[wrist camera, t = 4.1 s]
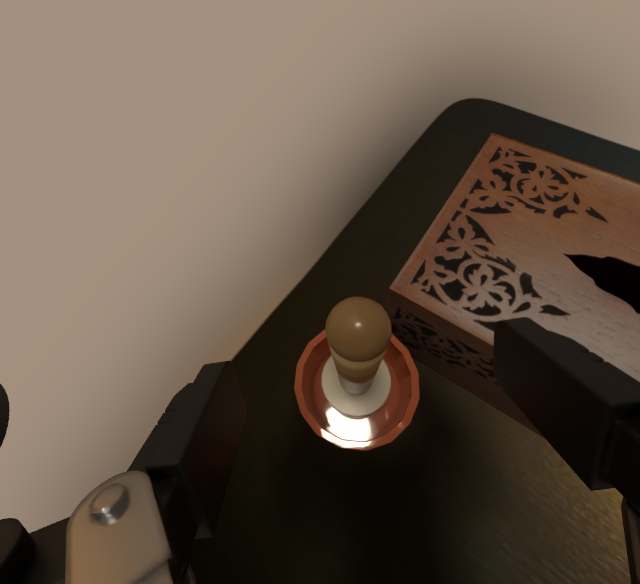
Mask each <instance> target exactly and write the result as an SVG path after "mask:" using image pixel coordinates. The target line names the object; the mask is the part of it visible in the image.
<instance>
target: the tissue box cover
mask: <svg viewBox="0 0 640 584" xmlns="http://www.w3.org/2000/svg"><path fill="white" fill-rule="evenodd" d="M384 310H385V311H386V312H387V314H388V316H389V318H390V321H391V327H392V334H393V335H394V336H395V337H396V338H397V339H398V340H399V341H400V342H401V343H402V344H403V345H404V346H405V347H406V348H407V349H408V350H409V352H410V354H411V356H413V357H414V358H416V359H418V360H419V361H421V362H422V363H424V364H426V365H427V366H429V367H431V368H432V369H434V370H435V371H437V372H439V373H440V374H442V375H443V376H445V377H447V378H448V379H450V380H452V381H453V382H455V383H456V384H458V385H460V386H461V387H463V388H465V389H466V390H468V391H469V392H471V393H473V394H474V395H476V396H478V397H479V398H481V399H482V400H484V401H486V402H487V403H489V404H491V405H492V406H494V407H495V408H497V409H499V410H500V411H502V412H504V413H505V414H507V415H508V416H510V417H512V418H513V419H515V420H516V421H518V422H520V423H521V424H523V425H525V426H526V427H528V428H529V429H531V430H533V431H534V432H536V433H538V434H539V435H541V436H542V437H544V436H543V435H542V434H541V433H540V432H539V431H538V429H537V428H536V427H535V426H534V425H533V424H532V423H531V421H530V420H529V419H528V418H527V417H526V416H525V415H524V413H523V412H522V411H521V410H520V409H519V408H518V407H517V405H516V404H515V403H514V402H513V401H512V400H511V399H510V397H509V396H508V395H507V394H506V393H505V392H504V391H503V389H502V388H501V387H500V386H499V384H498V383H497V381H496V378H495V376H494V372H493V346H494V328H495V324H496V323H497V322H498V321H501V320H507V319H514V318H521V317H528V318H530V319H531V320H533V321H534V322H536V323H537V324H539V325H540V326H542V327H543V328H545V329H546V330H548V331H553V332H555V333H558V334H561V335H563V336H566V337H569V338H572V339H573V340H575V341H576V342H578V343H579V344H581V345H583V346H584V347H586V348H587V349H589V351H590V352H594V353H595V354H597V355H598V356H600V357H601V358H603V359H604V361H605V362H609V363H611V364H612V365H614V366H616V367H617V368H619V369H620V370H622V371H623V372H625V373H626V374H628V375H630V376H631V377H633V378H634V379H636V380H637V381H639V382H640V183H638V182H635V181H632V180H629V179H626V178H623V177H620V176H618V175H615V174H612V173H609V172H606V171H603V170H600V169H597V168H594V167H591V166H588V165H585V164H582V163H580V162H577V161H574V160H571V159H568V158H565V157H562V156H559V155H556V154H553V153H550V152H547V151H544V150H542V149H539V148H536V147H533V146H530V145H527V144H524V143H521V142H518V141H515V140H512V139H509V138H506V137H503V136H501V135H498V134H495V133H492V134H491V135H490V137H489V138H488V140H487V141H486V143H485V144H484V146H483V147H482V149H481V150H480V152H479V153H478V155H477V156H476V158H475V160H474V161H473V163H472V164H471V166H470V167H469V169H468V170H467V172H466V173H465V175H464V176H463V178H462V179H461V181H460V182H459V184H458V185H457V187H456V188H455V190H454V191H453V193H452V194H451V196H450V197H449V199H448V200H447V202H446V203H445V205H444V206H443V208H442V209H441V211H440V212H439V214H438V215H437V217H436V218H435V220H434V221H433V223H432V224H431V226H430V227H429V229H428V230H427V232H426V233H425V235H424V236H423V238H422V239H421V241H420V242H419V244H418V245H417V247H416V248H415V250H414V251H413V253H412V254H411V256H410V257H409V259H408V260H407V262H406V263H405V265H404V266H403V268H402V269H401V271H400V272H399V274H398V275H397V277H396V278H395V280H394V282H393V283H392V285H391V286H390V288H389V290H388V294H387V298H386V302H385V306H384ZM544 438H545V437H544Z"/></svg>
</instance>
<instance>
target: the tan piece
mask: <svg viewBox="0 0 640 584" xmlns="http://www.w3.org/2000/svg"><path fill="white" fill-rule="evenodd" d="M391 333H392V327H391V321H390V318H389V316H388V314H387V312H386V311H385V310H384V309H383V307H382V306H381V305H379V304H378V303H377V302H375V301H374V300H372V299H369V298H366V297H351V298H347V299H345V300H343V301H341V302H340V303H338V304H337V305H336V306H335V307H334V308H333V309H332V311H331V312H330V314H329V316H328V318H327V322H326V337H327V341H328V344H329V347H330V351H331V354H332V355H331V356H330V357H329V359H328V360H327V362H326V363H325V365H324V368H323V371H322V377H321V383H322V389H323V392H324V395H325V397H326V399H327V401H328V402H329V403H330V404H331V406H332V407H333V408H334V409H335V410H337V411H338V412H339V413H340V414H341V415H343V416H345V417H347V418H350V419H363V418H366V417H368V416H370V415H372V414H373V413H375V412H376V411H377V410H379V409H380V408H381V407H382V406H383V405H384V403H385V402H386V400H387V398H388V396H389V394H390V390H391V375H390V371H389V368H388V366H387V364H386V363H385V361H384V360H383V357H384V354H385V352H386V350H387V347H388V345H389V342H390V340H391Z"/></svg>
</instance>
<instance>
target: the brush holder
mask: <svg viewBox="0 0 640 584" xmlns="http://www.w3.org/2000/svg"><path fill="white" fill-rule="evenodd" d="M331 355H332V354H331V351H330V347H329V344H328V341H327V337H326V329H325V330H323V331H322V332H321V333H320V334H319V335H317V336H316V337H315V338H314V339H313V340H312V341H310V342H309V343H308V344H307V346H306V348H305V350H304V352H303V354H302V356H301V358H300V359H299V361H298V363H297V368H296V377H295V385H294V388H295V389H294V390H295V394H296V398H297V401H298V405H299V409H300V413H301V415H302V416H303V417H304V419H305V420H306V421H307V423H308V424H309V425H310V427H311V428H312V429H313V431H314V432H315V433H316V434H317V435H318V436H320V437H321V438H323V439H325V440H327V441H328V442H330V443H332V444H334V445H335V446H337V447H339V448H343V449H353V450H362V451H366V450H367V451H368V450H371V449H373V448H376V447H379V446H382V445H385V444H388V443H391V442H392V441H393V440H394V439H395V438H396V437H397V436H398V435H399V434H400V433H401V432H402V431H403V430H404V429H405V428H406V427H407V426H408V425H409V424H410V423H411V421H412V418H413V415H414V413H415V410H416V408H417V405H418V402H419V399H420V392H419V373H418V370H417V368H416V366H415V363H414V361H413V359H412V357H411V354H410V352H409V350H408V349H407V348H406V347H405V346H404V345H403V344H402V343H401V342H400V341H399V340H398V339H397V338H396V337H395V336H394V335H393V334H392V333H391V340H390V342H389V345H388V347H387V350H386V352H385V354H384V357H383V360H384V361H385V363H386V364H387V366H388V368H389V371H390V375H391V390H390V394H389V396H388V398H387V400H386V402H385V403H384V405H383V406H382V407H381V408H380V409H379V410H377V411H376V412H375V413H373V414H372V415H370V416H368V417H366V418H363V419H350V418H347V417H345V416H343V415H341V414H340V413H339V412H338V411H337V410H335V409H334V408H333V407H332V406H331V404H330V403H329V402H328V401H327V399H326V397H325V395H324V392H323V389H322V383H321V377H322V371H323V368H324V365H325V363H326V362H327V360H328V359H329V357H330V356H331Z"/></svg>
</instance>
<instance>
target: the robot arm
mask: <svg viewBox="0 0 640 584" xmlns="http://www.w3.org/2000/svg"><path fill="white" fill-rule="evenodd" d="M493 372H494V376H495V378H496V381H497V383H498V384H499V386H500V387H501V388H502V389H503V391H504V392H505V393H506V394H507V395H508V396H509V397H510V399H511V400H512V401H513V402H514V403H515V404H516V405H517V407H518V408H519V409H520V410H521V411H522V412H523V413H524V415H525V416H526V417H527V418H528V419H529V420H530V421H531V423H532V424H533V425H534V426H535V427H536V428H537V429H538V431H539V432H540V433H541V434H542V435H543V436H544V437H545V439H546V440H547V441H548V442H549V443H550V444H551V445H552V447H553V448H554V449H555V450H556V451H557V452H558V453H559V455H560V456H561V457H562V458H563V459H564V460H565V461H566V463H567V464H568V465H569V466H570V467H571V468H572V469H573V471H574V472H575V473H576V474H577V475H578V476H579V477H580V479H581V480H582V481H583V482H584V483H585V484H586V485H587V487H588V488H589V489H590V490H591V491H593V490H601V489H608V488H616V489H617V490H618V491H619V492H620V493H621V494H622V495H623V500H622V504H621V511H622V519H623V526H624V533H625V541H626V548H627V555H628V563H629V570H630V577H631V584H640V382H639V381H637V380H636V379H634V378H633V377H631V376H630V375H628V374H626V373H625V372H623V371H622V370H620V369H619V368H617V367H616V366H614V365H612V364H611V363H609V362H605V361H604V359H603V358H601V357H600V356H598V355H597V354H595V353H594V352H590V351H589V349H587V348H586V347H584V346H583V345H581V344H579V343H578V342H576V341H575V340H573V339H572V338H569V337H566V336H563V335H561V334H558V333H555V332H553V331H548V330H546V329H545V328H543V327H542V326H540V325H539V324H537V323H536V322H534V321H533V320H531V319H530V318H528V317H521V318H514V319H507V320H501V321H498V322H497V323H496V324H495V328H494V346H493ZM245 416H246V410H245V402H244V398H243V395H242V392H241V389H240V386H239V382H238V379H237V376H236V373H235V370H234V367H233V364H232V363H231V362H230V361H224V362H218V363H211V364H205V365H204V366H203V367H202V368H201V370H200V372H199V373H198V375H197V377H196V379H195V380H194V382H193V383H189V384H187V385H186V386H185V387H184V388H183V389H182V390H180V391H179V392H178V393H177V394H176V395H175V396H174V397H173V399H172V400H171V402H170V403H169V405H168V407H167V408H166V410H165V413H163V415H162V416H161V418H160V419H159V421H158V425H156V426H155V428H154V429H153V430H152V432H151V434H150V435H149V437H148V438H147V440H146V442H145V443H144V445H143V446H142V448H141V449H140V451H139V453H138V454H137V456H136V457H135V459H134V461H133V462H132V464H131V466H130V467H129V469H128V470H127V472H124V473H120V474H118V475H116V476H114V477H112V478H110V479H108V480H106V481H105V482H103V483H101V484H100V485H99V486H97V487H96V488H95V489H94V490H92V491H91V492H90V493H89V494H88V495H87V496H86V497H85V498H84V499H83V500H82V501H81V502H80V504H79V505H78V506H77V507H76V509H75V510H74V512H73V514H72V515H71V516H70V517H68V518H66V519H63V520H61V521H58V522H56V523H54V524H51V525H49V526H46V527H44V528H41V529H39V530H37V531H34V532H32V533H28V532H27V531H26V529H25V528H24V527H23V525H22V524H21V523H20V521H19V520H17V519H14V518H7V519H2V520H0V584H199V583H198V580H197V577H196V574H195V571H194V568H193V565H192V562H191V560H190V558H189V555H190V551H191V548H192V545H193V542H194V539H201V538H209V537H213V534H214V531H215V527H216V523H217V520H218V516H219V513H220V509H221V506H222V502H223V498H224V495H225V491H226V488H227V484H228V480H229V477H230V473H231V470H232V466H233V462H234V459H235V455H236V452H237V448H238V445H239V441H240V437H241V434H242V430H243V427H244V423H245Z"/></svg>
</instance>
